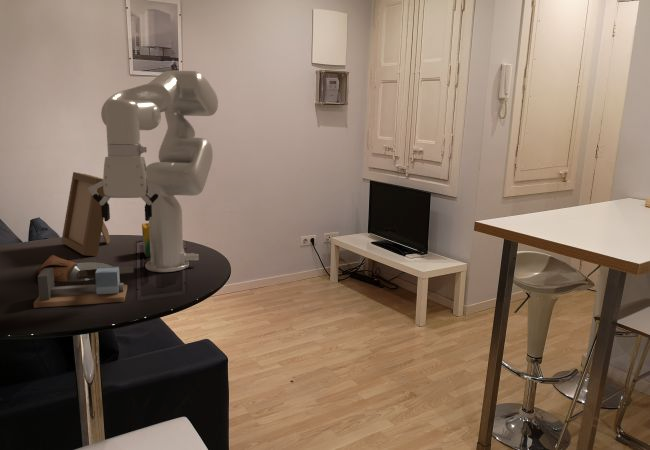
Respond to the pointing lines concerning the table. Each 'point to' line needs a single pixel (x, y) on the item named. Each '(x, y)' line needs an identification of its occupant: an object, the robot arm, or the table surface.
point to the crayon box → (146, 239)
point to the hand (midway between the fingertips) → (127, 220)
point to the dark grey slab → (46, 283)
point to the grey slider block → (107, 280)
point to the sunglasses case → (57, 268)
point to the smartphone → (91, 273)
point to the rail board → (80, 296)
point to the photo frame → (84, 217)
